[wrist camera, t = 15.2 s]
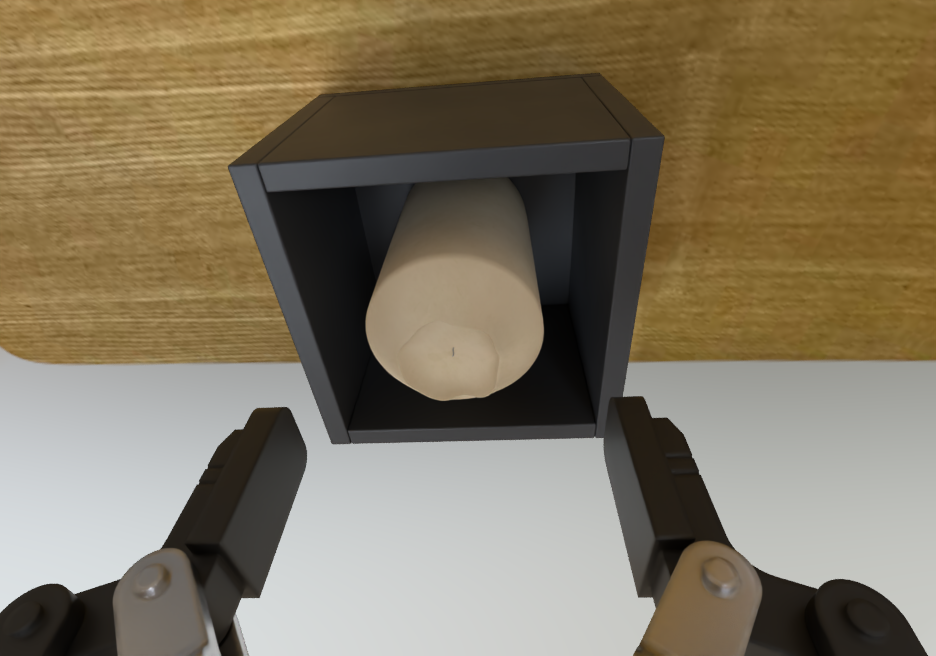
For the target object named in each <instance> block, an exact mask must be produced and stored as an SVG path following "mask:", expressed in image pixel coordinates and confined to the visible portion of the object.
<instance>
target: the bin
mask: <svg viewBox="0 0 936 656" xmlns="http://www.w3.org/2000/svg"><path fill="white" fill-rule="evenodd" d="M664 139H665V137H664V135H663V134H662V133H661V132H660V131H659V130H658V129H657V128H656V127H655V126H654V125H652V124H651V123H650V122H649V121H648V120H647V119H646V118H645V117H644V116H643V115H642V114H641V113H640V112H639V111H638V110H637V109H636V108H635V107H634V106H633V105H632V104H631V103H630V102H629V101H628V100H627V99H626V98H625V97H624V96H623V95H622V94H621V93H620V92H619V91H618V90H617V89H615V88H614V87H613V86H612V85H611V84H610V83H609V82H608V81H607V80H606V79H605V78H604V77H603V76H602V75H601V74H600V73H591V74H578V75H565V76H553V77H540V78H527V79H514V80H501V81H489V82H476V83H463V84H450V85H438V86H425V87H412V88H399V89H387V90H374V91H361V92H348V93H335V94H323V95H319V96H318V97H317V98H315V99H314V100H312V101H311V102H310V103H309V104H307V105H306V106H305V107H303V108H302V109H301V110H300V111H298V112H297V113H296V114H294V115H293V116H292V117H290V118H289V119H288V120H287V121H285V122H284V123H283V124H281V125H280V126H279V127H278V128H276V129H275V130H274V131H272V132H271V133H270V134H268V135H267V136H266V137H265V138H263V139H262V140H261V141H259V142H258V143H257V144H256V145H254V146H253V147H252V148H250V149H249V150H248V151H247V152H245V153H244V154H243V155H241V156H240V157H239V158H237V159H236V160H235V161H234V162H232V163H231V164H230V165H228V169H229V172H230V174H231V177H232V180H233V182H234V185H235V188H236V190H237V193H238V196H239V198H240V201H241V204H242V206H243V209H244V212H245V214H246V217H247V220H248V222H249V225H250V227H251V230H252V233H253V235H254V238H255V241H256V243H257V246H258V249H259V251H260V254H261V257H262V259H263V262H264V265H265V267H266V270H267V273H268V275H269V278H270V281H271V283H272V286H273V289H274V291H275V294H276V297H277V299H278V302H279V305H280V307H281V310H282V313H283V315H284V318H285V320H286V323H287V326H288V328H289V331H290V334H291V336H292V339H293V342H294V344H295V347H296V350H297V352H298V355H299V358H300V360H301V363H302V366H303V368H304V371H305V374H306V376H307V379H308V381H309V384H310V387H311V390H312V392H313V395H314V397H315V400H316V403H317V405H318V408H319V411H320V414H321V416H322V419H323V421H324V424H325V427H326V429H327V432H328V435H329V437H330V440H331V443H332V444H350V443H351V442H352V443H353V444H354V443H355V444H358V443H398V442H399V443H400V442H438V441H439V442H441V441H479V440H480V441H482V440H522V439H523V440H524V439H566V438H594V437H596V438H604V433H605V426H606V419H607V412H608V405H609V400H610V398H611V397H623V391H624V385H625V379H626V372H627V366H628V360H629V354H630V348H631V342H632V336H633V329H634V323H635V317H636V311H637V305H638V299H639V292H640V286H641V280H642V274H643V268H644V262H645V256H646V249H647V243H648V237H649V231H650V225H651V219H652V213H653V206H654V200H655V194H656V188H657V182H658V176H659V169H660V163H661V157H662V151H663V145H664ZM504 177H508V178H509V179H510V180H511V182H512V183H513V184H514V185H515V187H516V188H517V190H518V192H519V193H520V195H521V197H522V200H523V202H524V206H525V210H526V214H527V219H528V226H529V232H530V239H531V245H532V252H533V258H534V264H535V271H536V277H537V284H538V290H539V297H540V303H541V310H542V316H543V325H544V336H543V342H542V346H541V349H540V352H539V354H538V356H537V358H536V360H535V361H534V363H533V365H532V366H531V367H530V368H529V369H528V371H527V372H526V373H525V374H524V375H522V376H521V377H520V378H519V379H518V380H516V381H515V382H513V383H512V384H510V385H509V386H507V387H505V388H503V389H501V390H498V391H496V392H494V393H491V394H490V395H489V396H486V397H481V398H477V397H475V398H469V399H454V400H446V401H440V400H435V399H432V398H430V397H427V396H425V395H423V394H421V393H420V392H418V391H416V390H414V389H412V388H410V387H408V386H407V385H405V384H403V383H402V382H400V381H399V380H397V379H396V378H394V377H393V376H392V375H391V374H390V373H388V372H387V371H386V370H385V368H384V367H383V366H382V365H381V364H380V363H379V361H378V360H377V359H376V357H375V355H374V354H373V352H372V350H371V348H370V345H369V342H368V339H367V334H366V314H367V310H368V307H369V303H370V300H371V298H372V295H373V292H374V289H375V286H376V283H377V280H378V278H379V275H380V272H381V269H382V266H383V263H384V260H385V258H386V255H387V252H388V249H389V246H390V243H391V240H392V238H393V235H394V232H395V229H396V226H397V223H398V221H399V218H400V215H401V212H402V209H403V206H404V204H405V201H406V199H407V197H408V195H409V192H410V191H411V189H412V188H413V186H414V185H415V183H426V182H442V181H457V180H473V179H489V178H504Z"/></svg>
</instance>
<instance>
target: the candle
mask: <svg viewBox="0 0 936 656" xmlns="http://www.w3.org/2000/svg"><path fill="white" fill-rule="evenodd" d="M366 334H367V339H368V342H369V345H370V348H371V350H372V352H373V354H374V355H375V357H376V359H377V360H378V361H379V363H380V364H381V365H382V366H383V367H384V368H385V370H386V371H387V372H388V373H390V374H391V375H392V376H393V377H394V378H396V379H397V380H399V381H400V382H402V383H403V384H405V385H407V386H408V387H410V388H412V389H414V390H416V391H418V392H420V393H421V394H423V395H425V396H427V397H430V398H432V399H435V400H440V401H446V400H454V399H469V398H475V397H477V398H481V397H486V396H489V395H490V394H491V393H494V392H496V391H498V390H501V389H503V388H505V387H507V386H509V385H510V384H512V383H513V382H515V381H516V380H518V379H519V378H520V377H521V376H522V375H524V374H525V373H526V372H527V371H528V369H529V368H530V367H531V366H532V365H533V363H534V361H535V360H536V358H537V356H538V354H539V352H540V349H541V346H542V342H543V336H544V325H543V316H542V310H541V303H540V297H539V290H538V284H537V277H536V271H535V264H534V258H533V252H532V245H531V239H530V232H529V226H528V219H527V214H526V210H525V206H524V202H523V200H522V197H521V195H520V193H519V192H518V190H517V188H516V187H515V185H514V184H513V183H512V182H511V180H510V179H509V178H508V177H504V178H489V179H473V180H457V181H442V182H426V183H415V185H414V186H413V188H412V189H411V191H410V192H409V195H408V197H407V199H406V201H405V204H404V206H403V209H402V212H401V215H400V218H399V221H398V223H397V226H396V229H395V232H394V235H393V238H392V240H391V243H390V246H389V249H388V252H387V255H386V258H385V260H384V263H383V266H382V269H381V272H380V275H379V278H378V280H377V283H376V286H375V289H374V292H373V295H372V298H371V300H370V303H369V307H368V310H367V314H366Z"/></svg>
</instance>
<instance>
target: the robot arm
mask: <svg viewBox="0 0 936 656" xmlns="http://www.w3.org/2000/svg"><path fill="white" fill-rule="evenodd" d="M604 455H605V462H606V467H607V471H608V475H609V479H610V483H611V487H612V491H613V495H614V500H615V504H616V508H617V512H618V516H619V520H620V524H621V528H622V533H623V536H624V541H625V545H626V549H627V553H628V557H629V561H630V565H631V570H632V573H633V578H634V582H635V586H636V590H637V594H638V597H653V599H654V603H655V607H656V610H655V612H654V615H653V617H652V619H651V621H650V624H649V625H648V628H647V630H646V632H645V634H644V636H643V639H642V640H641V643H640V645H639V646H638V647H637V649H636V651H635V653H634V655H633V656H928V655H927V653H926V652H925V650H924V648H923V647H922V645H921V643H920V641H919V640H918V638H917V636H916V635H915V633H914V631H913V629H912V628H911V626H910V624H909V623H908V621H907V620H906V618H905V617H904V615H903V614H902V613H901V612H900V611H899V610H898V608H897V607H896V606H895V605H894V604H892V602H890V601H889V600H888V599H887V598H885V597H884V596H883V595H882V594H880V593H878V592H877V591H875V590H874V589H872V588H870V587H868V586H866V585H864V584H861V583H858V582H855V581H851V580H845V579H835V580H830V581H828V582H826V583H824V584H823V585H822V586H820V587H819V589H816V588H812V587H809V586H806V585H802V584H799V583H796V582H792V581H789V580H786V579H782V578H779V577H775V576H773V575H770V574H767V573H765V572H763V571H761V570H759V569H758V568H756V567H754V566H753V565H751V564H750V563H749V561H748V560H747V559H746V558H745V557H744V556H743V555H741V554H740V553H739V552H737V551H736V550H735V549H734V547H733V546H732V545H731V543H730V542H729V540H728V538H727V536H726V534H725V531H724V529H723V527H722V524H721V522H720V520H719V517H718V515H717V512H716V510H715V508H714V505H713V503H712V501H711V498H710V496H709V493H708V491H707V489H706V486H705V484H704V482H703V479H702V477H701V475H699V470H698V468H697V465H696V463H695V460H694V459H693V458H692V453H691V451H690V448H689V446H688V444H687V442H686V439H685V437H684V434H683V433H682V432H680V430H679V429H678V428H677V427H676V426H675V425H674V424H673V423H672V422H671V421H670V420H669V419H668V418H652V417H651V415H650V412H649V409H648V406H647V404H646V401H645V399H644V398H643V397H642V396H634V397H611V398H610V400H609V405H608V412H607V419H606V426H605V433H604ZM306 463H307V450H306V446H305V443H304V441H303V438H302V436H301V434H300V431H299V429H298V426H297V424H296V422H295V419H294V417H293V415H292V413H291V410H290V409H289V408H287V407H278V408H277V407H274V408H257V409H255V410H254V411H253V412H252V414H251V416H250V417H249V419H248V421H247V423H246V425H245V427H244V429H242V430H234V431H233V432H232V433H231V434H230V435H229V436H228V437H227V438H226V439H225V440H224V441H223V442H222V443H221V444H220V445H219V446H218V447H217V449H216V451H215V453H214V455H213V457H212V458H211V460H210V462H209V464H208V469H205V471H204V473H203V475H202V476H201V478H200V480H199V485H197V486H196V487H195V489H194V491H193V493H192V495H191V496H190V498H189V500H188V502H187V504H186V506H185V507H184V509H183V511H182V513H181V514H180V516H179V518H178V520H177V522H176V524H175V525H174V527H173V529H172V531H171V533H170V535H169V536H168V538H167V540H166V542H165V543H164V545H163V546H162V548H161V549H160V550H157V551H154V552H152V553H150V554H148V555H146V556H145V557H143V558H141V559H140V560H139V561H137V562H136V563H135V564H134V565H133V566H132V567H131V568H129V570H128V571H127V572H126V573H125V574H124V576H123V577H122V578H121V579H119V580H117V581H114V582H111V583H108V584H105V585H102V586H98V587H95V588H92V589H90V590H86V591H83V592H80V593H77V594H73V593H72V592H71V591H69V590H68V589H67V588H66V587H64V586H63V585H60V584H46V585H42V586H39V587H37V588H34V589H32V590H30V591H28V592H27V593H24V594H23V595H21V596H20V597H18V598H17V599H16V600H14V601H13V602H12V603H10V604H9V605H8V606H7V607H6V608H5V609H4V610H3V611H2V612H1V613H0V656H249V654H248V651H247V647H246V644H245V641H244V638H243V634H242V631H241V627H240V624H239V621H238V618H237V616H236V614H235V613H236V610H237V607H238V605H239V602H240V600H241V598H260V595H261V592H262V589H263V587H264V584H265V581H266V578H267V575H268V572H269V570H270V567H271V564H272V561H273V558H274V556H275V553H276V550H277V547H278V544H279V542H280V539H281V536H282V533H283V530H284V527H285V524H286V522H287V519H288V516H289V513H290V511H291V508H292V505H293V502H294V499H295V496H296V494H297V491H298V488H299V485H300V482H301V480H302V477H303V474H304V471H305V468H306Z"/></svg>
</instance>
